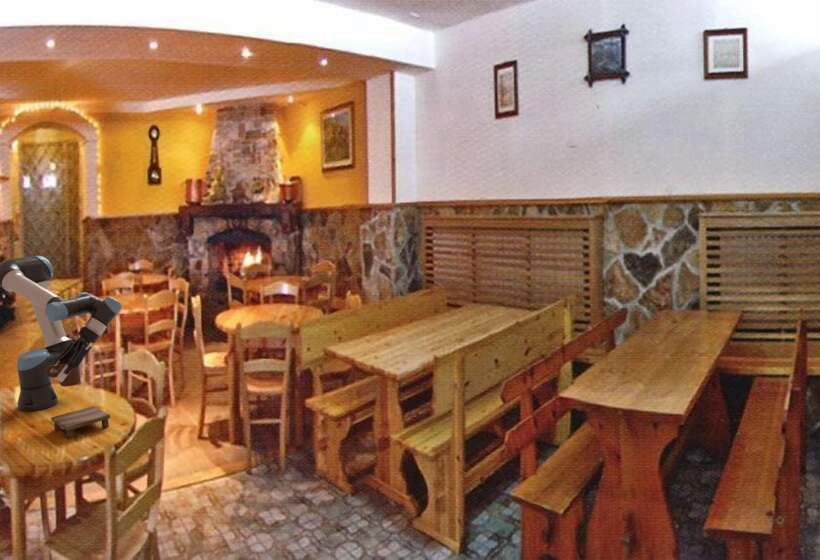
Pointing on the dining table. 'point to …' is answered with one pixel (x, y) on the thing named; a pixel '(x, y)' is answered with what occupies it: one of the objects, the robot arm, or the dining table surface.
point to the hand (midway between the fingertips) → (54, 378)
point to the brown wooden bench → (80, 419)
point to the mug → (71, 378)
